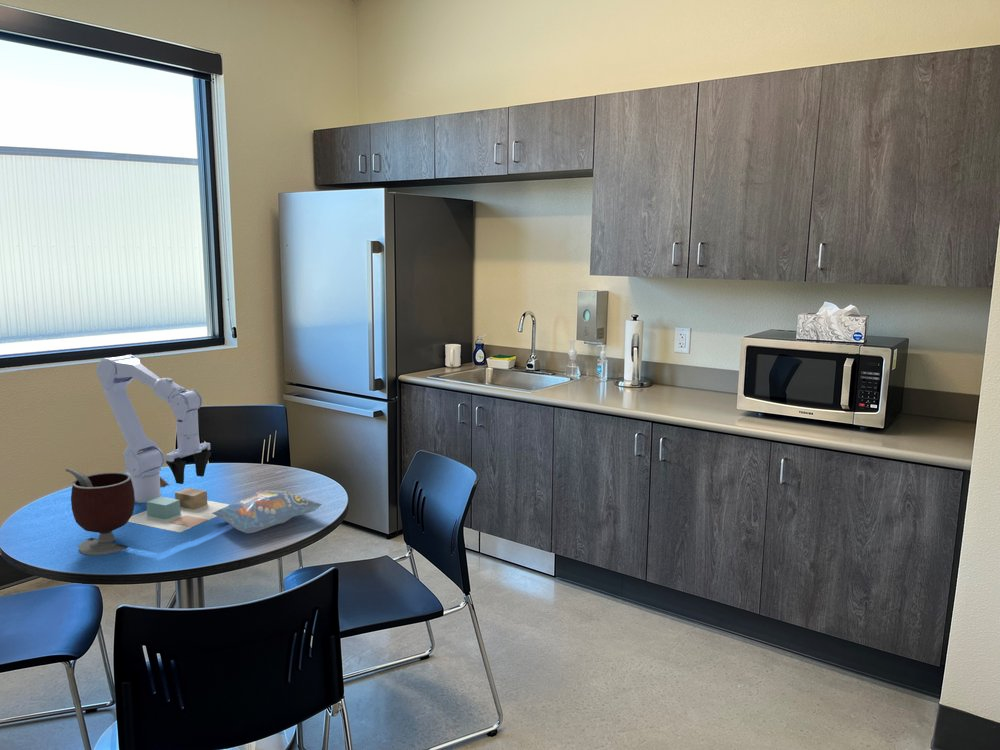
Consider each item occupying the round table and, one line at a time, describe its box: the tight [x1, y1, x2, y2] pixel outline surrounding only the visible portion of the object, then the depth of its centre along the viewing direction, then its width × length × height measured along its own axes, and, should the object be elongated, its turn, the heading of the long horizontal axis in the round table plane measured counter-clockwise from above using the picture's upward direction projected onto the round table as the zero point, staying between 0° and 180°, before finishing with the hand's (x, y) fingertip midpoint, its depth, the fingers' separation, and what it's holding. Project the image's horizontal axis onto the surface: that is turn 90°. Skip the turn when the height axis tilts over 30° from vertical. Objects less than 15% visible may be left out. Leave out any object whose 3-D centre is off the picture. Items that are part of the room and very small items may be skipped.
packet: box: [212, 490, 323, 534], centre depth 200 cm, size 17×24×8 cm
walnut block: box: [174, 487, 208, 510], centre depth 209 cm, size 7×5×4 cm
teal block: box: [145, 496, 181, 519], centre depth 202 cm, size 7×5×4 cm
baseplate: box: [127, 500, 230, 533], centre depth 203 cm, size 21×22×1 cm
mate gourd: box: [65, 467, 136, 556], centre depth 182 cm, size 16×14×20 cm
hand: (190, 479), depth 208 cm, fingers open, 7 cm apart
